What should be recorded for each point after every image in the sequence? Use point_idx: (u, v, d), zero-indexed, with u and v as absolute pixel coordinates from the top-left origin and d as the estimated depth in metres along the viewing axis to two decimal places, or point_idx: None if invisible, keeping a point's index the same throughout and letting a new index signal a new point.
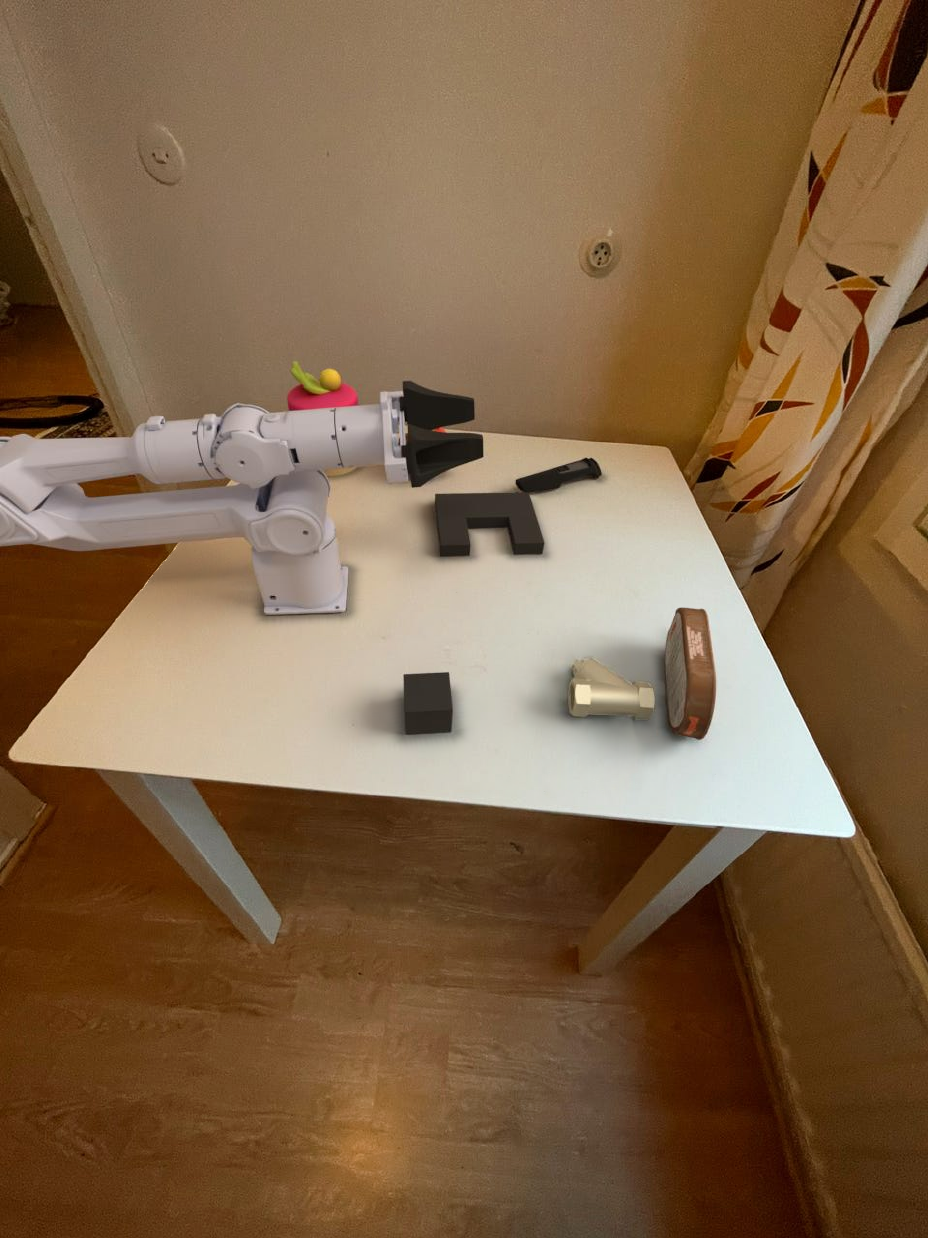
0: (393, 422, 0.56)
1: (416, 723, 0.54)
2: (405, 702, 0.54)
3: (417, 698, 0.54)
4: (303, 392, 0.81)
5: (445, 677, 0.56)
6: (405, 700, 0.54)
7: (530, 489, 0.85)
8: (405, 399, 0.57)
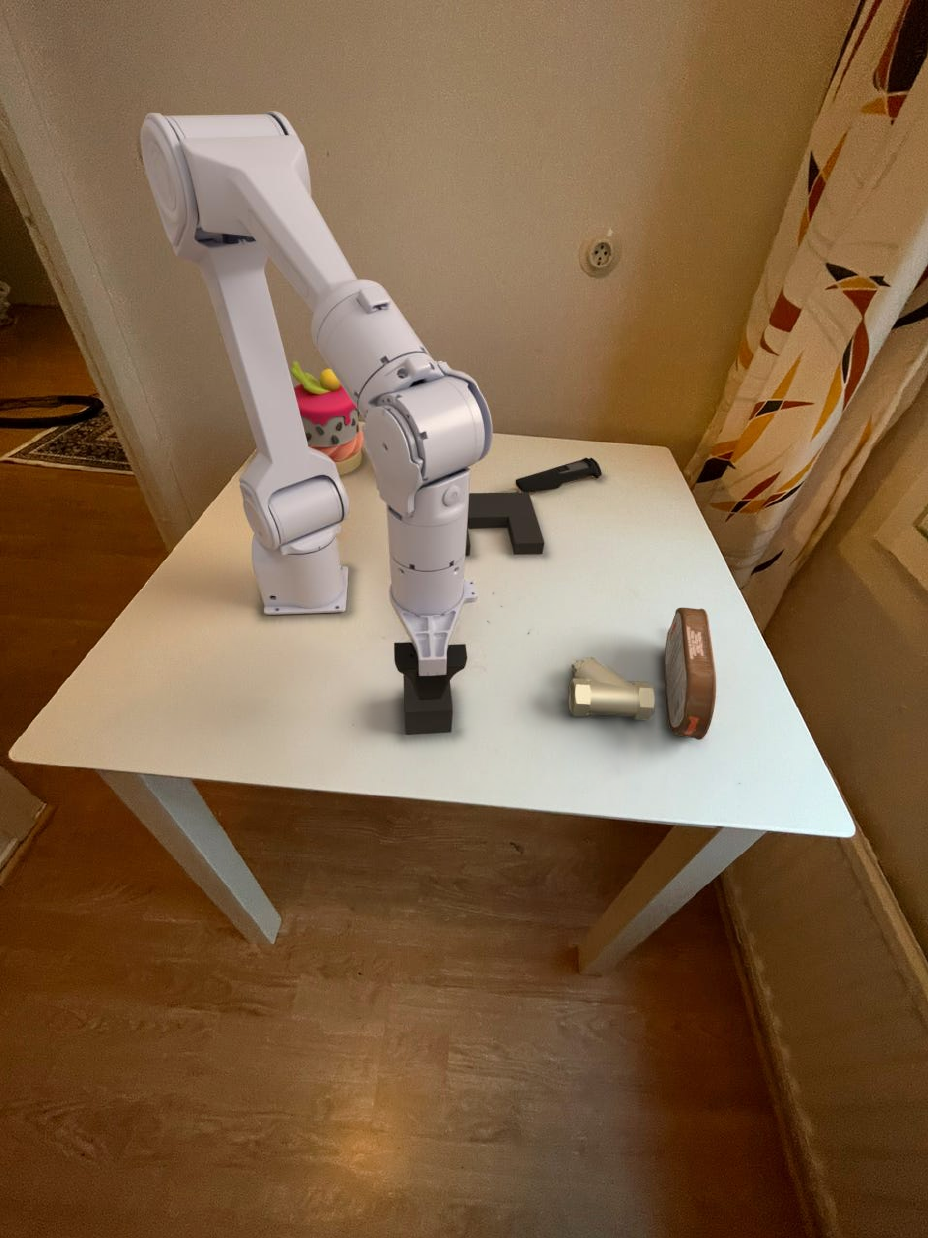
0: None
1: (416, 723, 0.54)
2: (405, 702, 0.54)
3: (417, 698, 0.54)
4: (303, 392, 0.81)
5: None
6: (405, 700, 0.54)
7: (530, 489, 0.85)
8: None
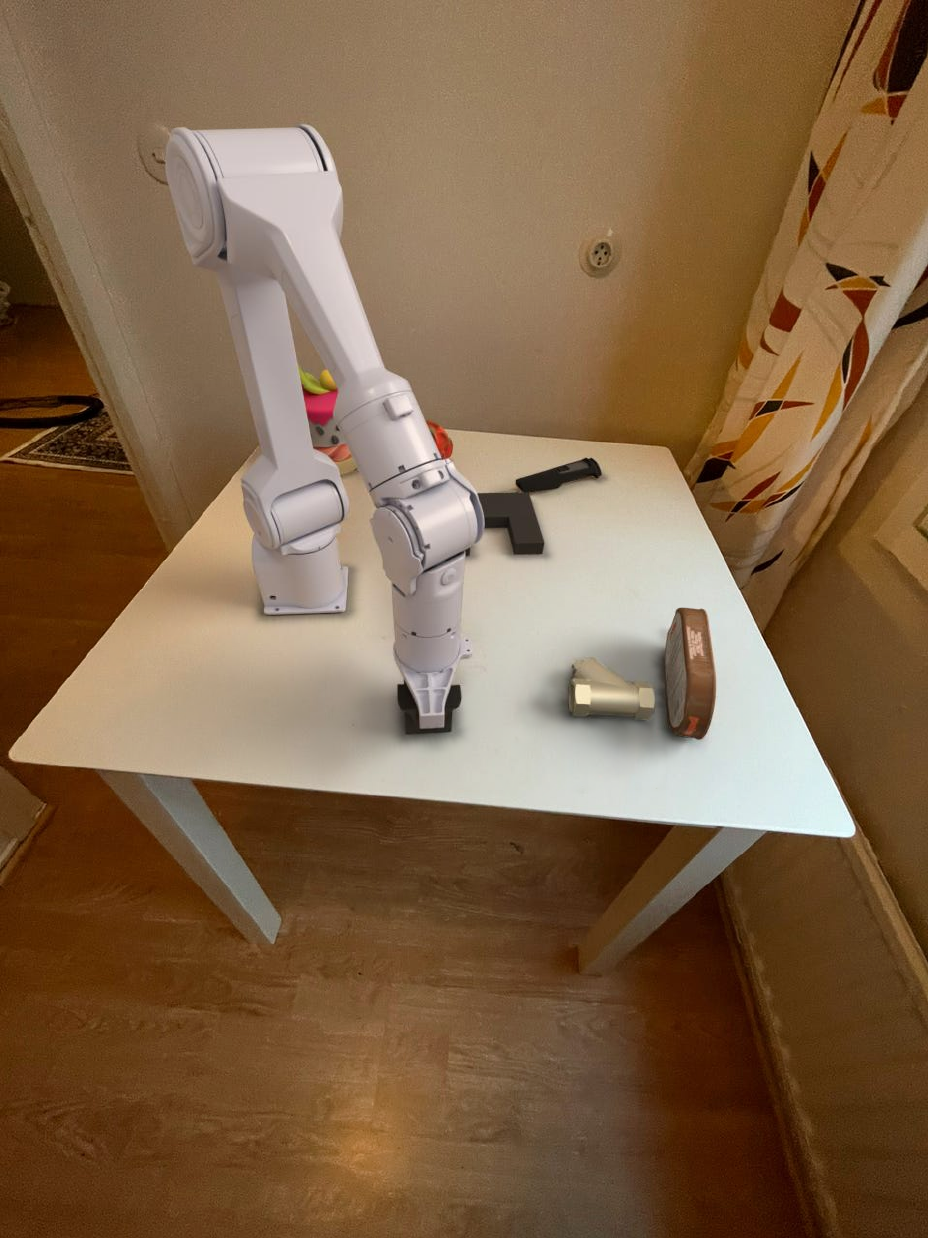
0: None
1: None
2: None
3: None
4: (304, 392, 0.81)
5: None
6: None
7: (530, 489, 0.85)
8: None
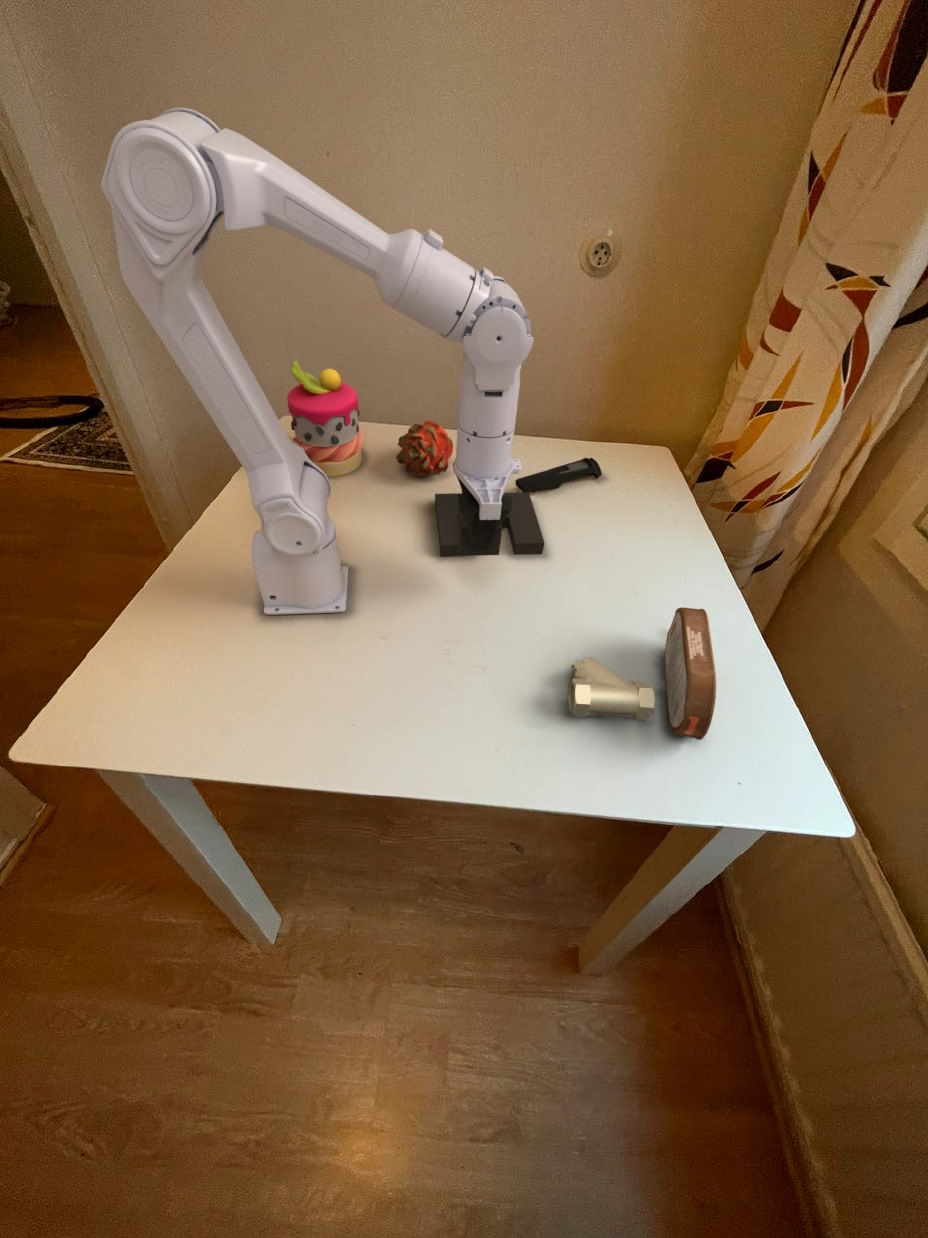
0: None
1: None
2: (461, 521, 0.62)
3: None
4: (304, 392, 0.81)
5: None
6: (461, 520, 0.62)
7: (530, 489, 0.85)
8: None
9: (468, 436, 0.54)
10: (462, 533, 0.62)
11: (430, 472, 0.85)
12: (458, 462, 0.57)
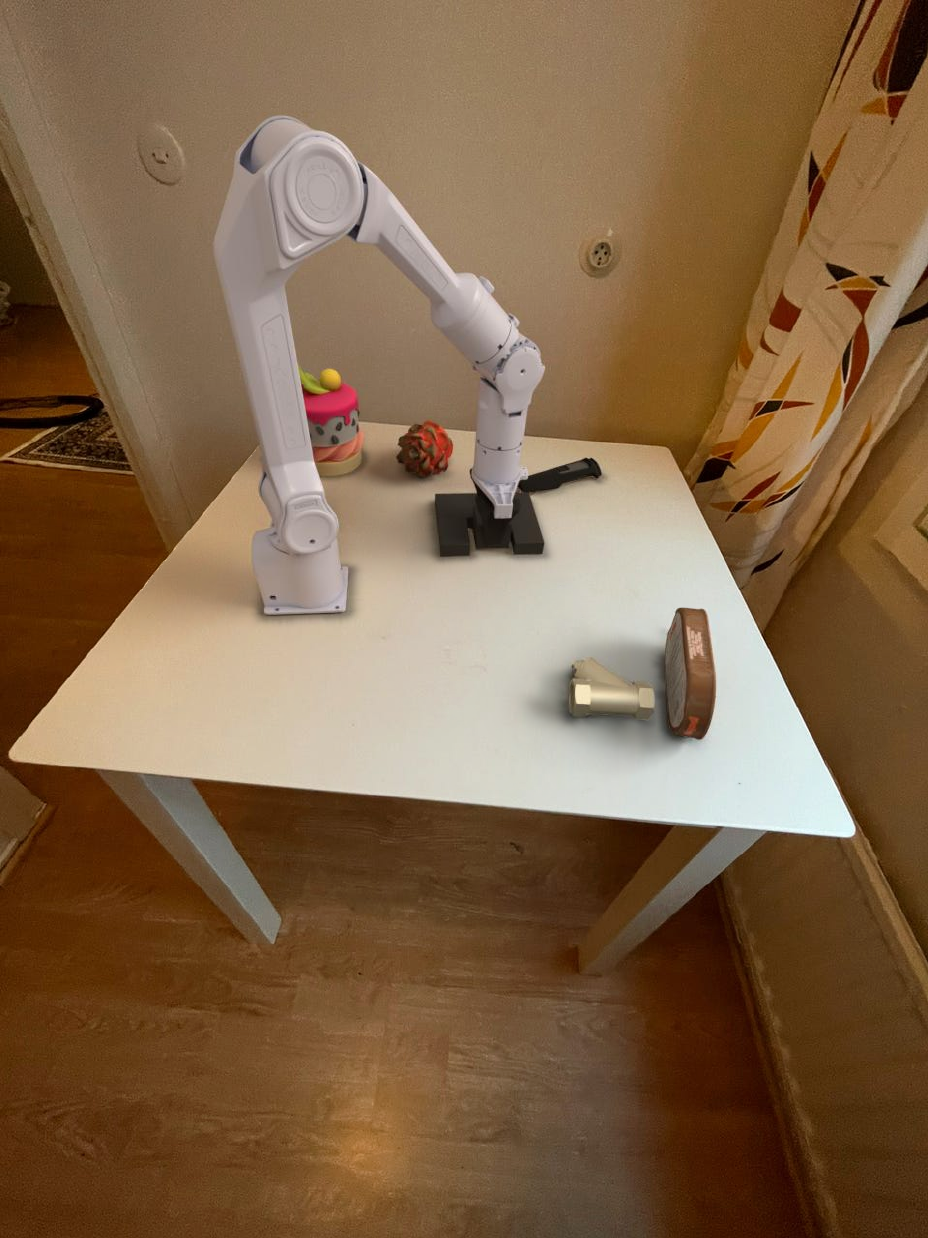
0: None
1: None
2: (477, 520, 0.73)
3: None
4: (304, 392, 0.81)
5: None
6: (477, 519, 0.74)
7: (530, 489, 0.85)
8: None
9: (485, 449, 0.65)
10: (478, 529, 0.73)
11: (430, 472, 0.85)
12: (475, 470, 0.68)
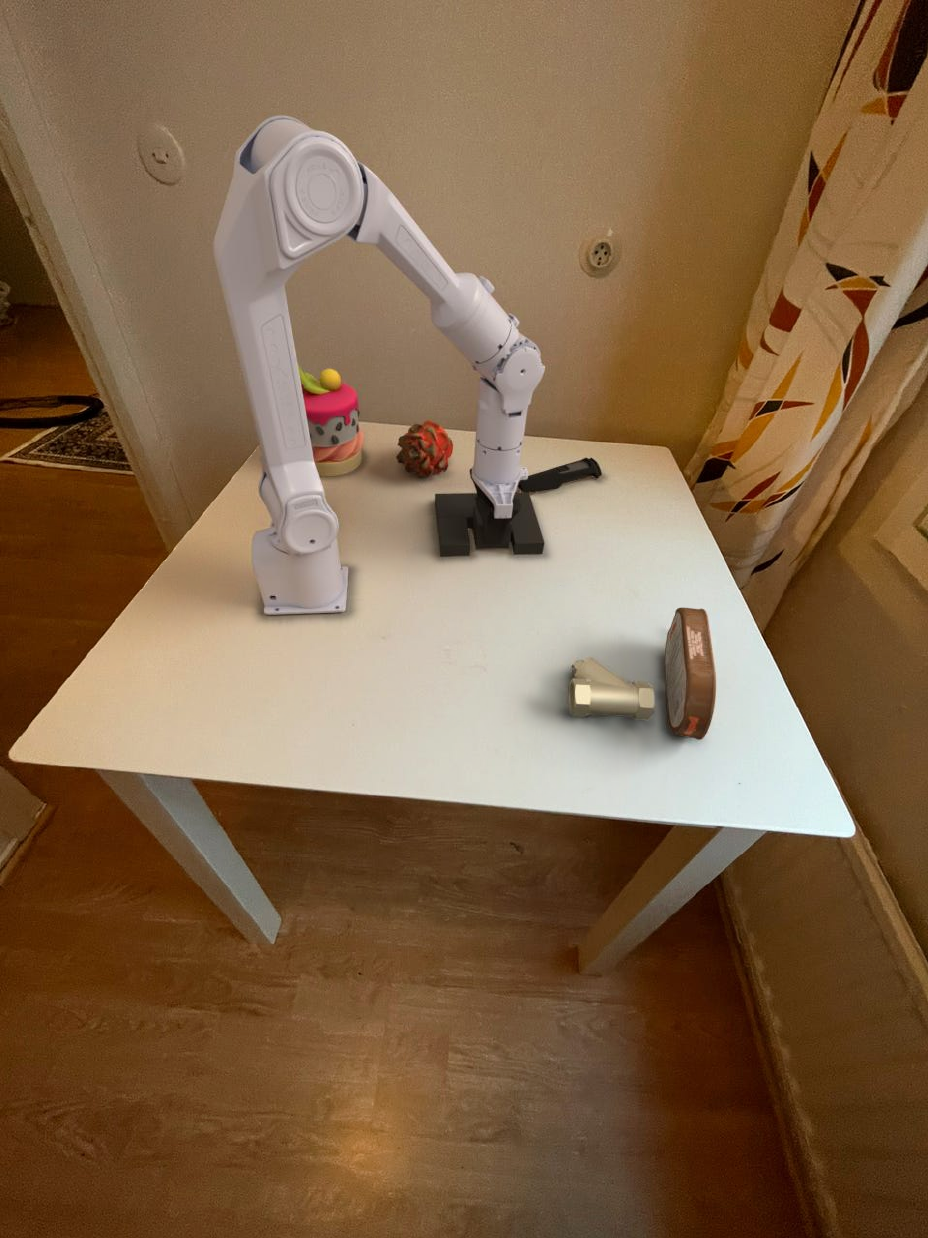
0: None
1: None
2: (477, 520, 0.73)
3: None
4: (303, 392, 0.81)
5: None
6: (477, 519, 0.74)
7: (530, 489, 0.85)
8: None
9: (485, 449, 0.65)
10: (478, 530, 0.73)
11: (430, 472, 0.85)
12: (475, 470, 0.68)
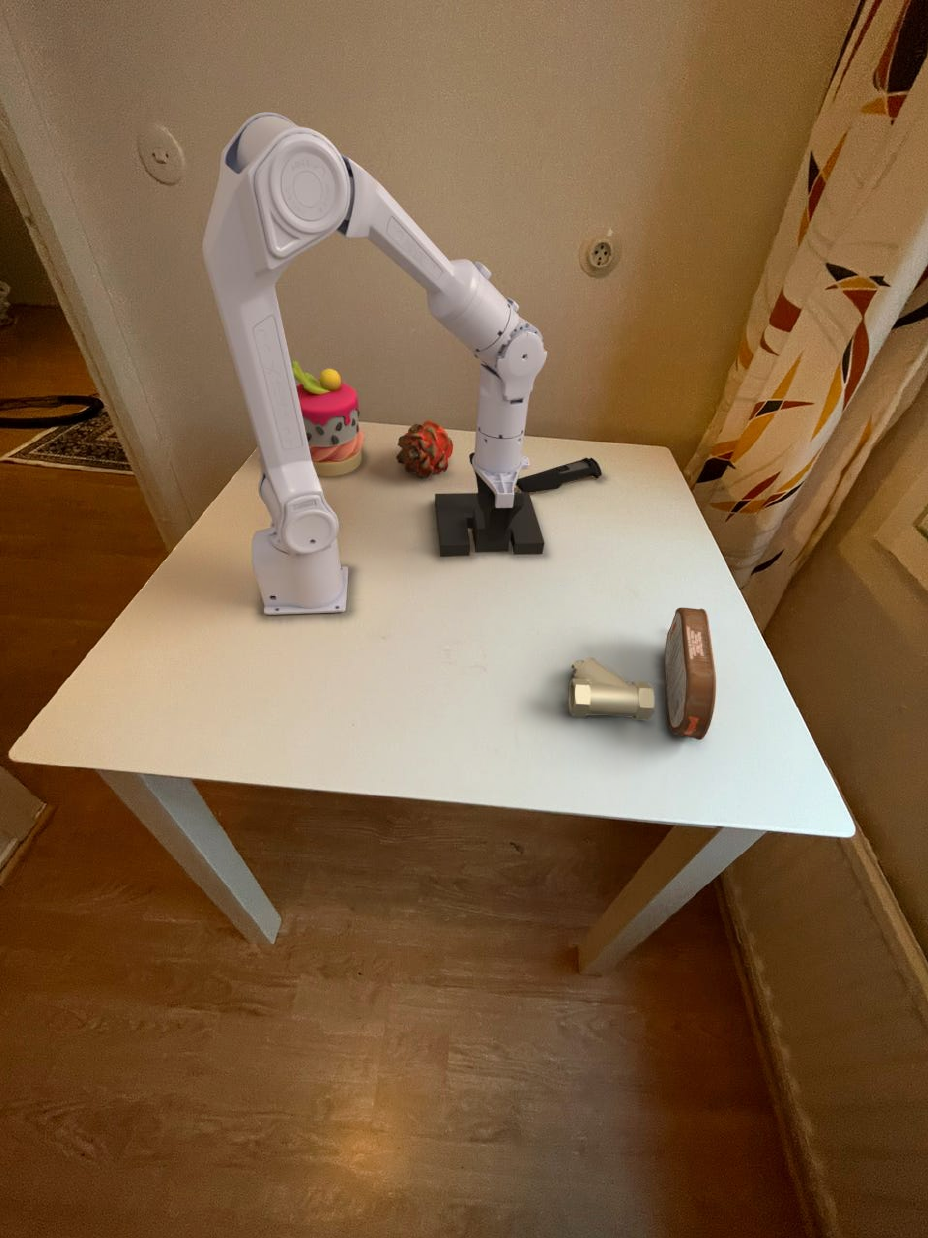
0: None
1: (484, 541, 0.75)
2: (477, 523, 0.74)
3: None
4: (304, 392, 0.81)
5: None
6: (477, 522, 0.74)
7: (530, 489, 0.85)
8: None
9: (486, 437, 0.64)
10: (478, 533, 0.74)
11: (430, 472, 0.85)
12: (476, 459, 0.67)
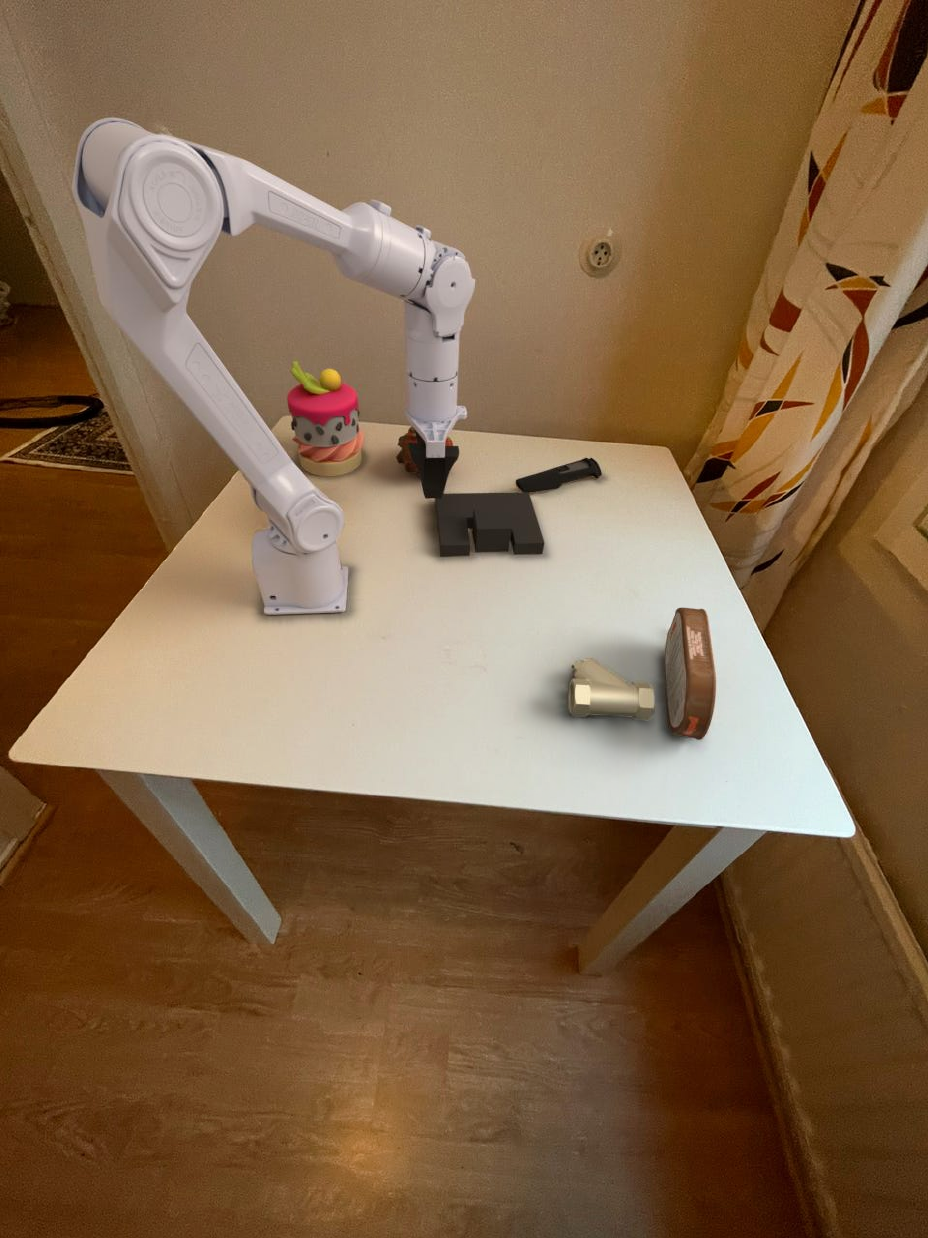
0: None
1: (484, 541, 0.75)
2: (477, 523, 0.74)
3: (485, 522, 0.74)
4: (303, 392, 0.81)
5: (504, 510, 0.76)
6: (477, 522, 0.74)
7: (530, 489, 0.85)
8: None
9: (414, 381, 0.60)
10: (478, 533, 0.74)
11: None
12: (408, 407, 0.63)
